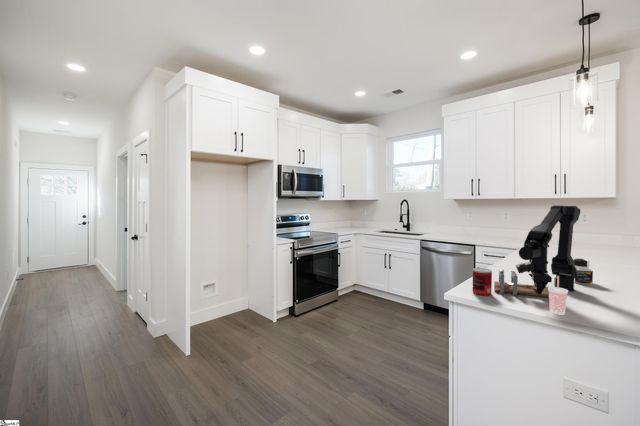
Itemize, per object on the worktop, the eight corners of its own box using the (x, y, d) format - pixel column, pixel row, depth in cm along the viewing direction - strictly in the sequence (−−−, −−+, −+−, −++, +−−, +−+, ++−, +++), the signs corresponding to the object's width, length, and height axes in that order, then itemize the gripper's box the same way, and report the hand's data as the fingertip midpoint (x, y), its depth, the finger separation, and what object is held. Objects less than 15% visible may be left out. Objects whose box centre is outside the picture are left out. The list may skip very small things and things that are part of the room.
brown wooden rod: (548, 295, 132) (549, 285, 132) (550, 299, 128) (551, 288, 128) (494, 289, 142) (494, 280, 142) (494, 292, 138) (494, 282, 138)
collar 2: (514, 290, 140) (515, 271, 140) (517, 296, 131) (517, 276, 131) (510, 289, 141) (511, 271, 141) (513, 295, 132) (513, 276, 132)
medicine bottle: (574, 283, 150) (575, 260, 150) (569, 279, 157) (569, 257, 156) (592, 284, 148) (593, 261, 147) (586, 281, 154) (587, 258, 154)
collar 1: (502, 288, 142) (503, 268, 142) (504, 294, 134) (505, 272, 133) (497, 288, 143) (498, 267, 143) (499, 294, 135) (499, 272, 134)
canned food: (489, 291, 139) (489, 268, 138) (493, 297, 131) (493, 272, 131) (471, 290, 141) (471, 267, 141) (473, 295, 134) (474, 271, 133)
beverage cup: (543, 309, 116) (544, 274, 115) (559, 309, 116) (560, 274, 115) (554, 315, 110) (556, 278, 109) (571, 315, 110) (573, 278, 109)
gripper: (514, 252, 143) (514, 284, 144) (519, 260, 127) (519, 296, 127) (543, 254, 138) (542, 287, 139) (552, 262, 121) (551, 300, 122)
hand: (538, 292), depth 132 cm, fingers closed on brown wooden rod, 4 cm apart
